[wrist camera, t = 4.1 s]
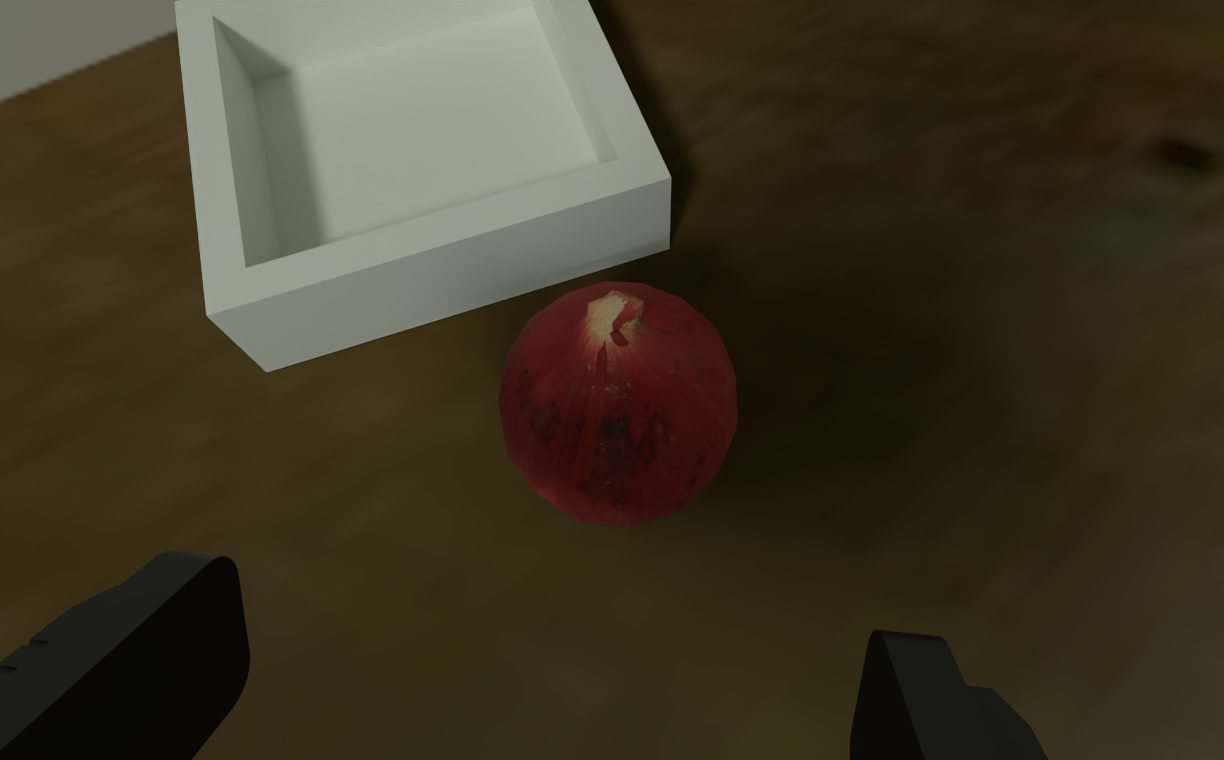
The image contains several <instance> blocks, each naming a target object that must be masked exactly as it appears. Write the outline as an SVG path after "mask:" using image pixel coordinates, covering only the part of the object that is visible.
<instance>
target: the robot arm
mask: <svg viewBox="0 0 1224 760" xmlns="http://www.w3.org/2000/svg"><path fill="white" fill-rule="evenodd" d="M249 666H250V650H249V644H248V637H247V630H246V623H245V616H244V609H243V603H242V596H241V589H240V582H239V575H238V570H237V567H236V565H235V563H234V562H233V560H231V559H230V558H229V557H226V556H218V555H208V554H199V553H190V552H181V551H171V550H170V551H165V552H163V553H161V554H159V555H158V556H156V557H155V558H154V559H152V560H151V561H150V562H149V563H147V564H146V565H145V566H144V567H142V568H141V569H140V570H139V571H137V572H136V573H135V574H134V575H132V576H131V577H130V578H129V579H127V580H126V581H125V582H124V583H123V584H121V585H120V586H115V587H113V588H111V589H109V590H107V591H105V592H103V593H101V594H99V595H97V596H95V597H93V598H91V599H89V600H86V601H84V602H82V603H80V604H78V605H76V606H74V607H72V608H70V609H68V610H67V611H66V612H65V613H63V614H62V615H61V616H59V617H58V618H57V619H56V620H54V621H53V622H52V623H50V624H49V625H48V626H47V627H45V628H44V629H43V630H41V631H40V632H39V633H38V634H36V635H35V636H34V637H32V638H31V639H30V643H29V645H28V646H21V647H19V648H18V649H17V650H16V651H14V652H13V653H12V654H10V655H9V656H8V657H7V658H5V659H4V660H3V661H1V662H0V760H192V758H193V757H194V756H195V755H196V753H197V752H198V751H199V750H200V748H201V747H202V746H203V745H204V743H205V742H206V741H207V740H208V738H209V737H210V736H211V735H212V733H213V732H214V731H215V730H216V728H217V727H218V726H219V725H220V723H221V722H222V721H223V720H224V718H225V717H226V716H227V715H228V713H229V712H230V711H231V710H232V708H233V707H234V705H235V704H236V703H237V701H238V699H239V697H240V695H241V693H242V691H243V689H244V686H245V683H246V680H247V677H248V672H249ZM850 760H1048V759H1047V757H1046V755H1045V753H1044V751H1043V749H1042V747H1041V746H1040V744H1039V742H1038V740H1037V738H1036V736H1035V734H1034V732H1033V731H1032V729H1031V727H1030V726H1029V725H1028V724H1027V723H1026V722H1025V721H1024V720H1023V719H1022V718H1021V717H1020V716H1019V715H1018V714H1017V713H1016V712H1015V711H1014V710H1013V709H1012V708H1011V707H1010V706H1009V705H1008V704H1007V703H1006V702H1005V701H1004V700H1003V699H1002V698H1001V697H1000V696H999V695H998V694H997V693H996V692H995V691H994V690H993V689H991V688H982V687H973V686H966V684H965V681H964V679H963V677H962V675H961V673H960V671H959V668H958V666H957V664H956V662H955V660H954V657H953V655H952V653H951V651H950V649H949V646H948V645H947V643H946V641H945V640H944V639H943V638H942V637H939V636H930V635H921V634H912V633H902V632H893V631H884V630H874V631H873V632H872V634H871V636H870V639H869V643H868V647H867V652H866V657H865V662H864V667H863V673H862V678H861V683H860V688H859V693H858V698H857V704H856V709H855V714H854V719H853V724H852V730H851V738H850Z"/></svg>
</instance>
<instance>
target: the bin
mask: <svg viewBox="0 0 1224 760" xmlns="http://www.w3.org/2000/svg"><path fill="white" fill-rule="evenodd" d="M175 11H176V21H177V31H178V41H179V51H180V60H181V70H182V80H183V90H184V100H185V110H186V119H187V129H188V139H189V149H190V159H191V169H192V178H193V188H194V198H195V208H196V218H197V228H198V237H199V247H200V257H201V267H202V277H203V287H204V296H205V306H206V316H207V317H208V318H209V319H210V320H212V321H213V322H214V323H215V324H216V325H217V326H218V327H219V328H220V329H221V330H222V331H223V332H224V333H225V334H226V335H228V336H229V337H230V338H231V339H232V340H233V341H234V342H235V343H236V344H237V345H238V346H239V347H240V348H241V349H242V350H243V351H245V352H246V353H247V354H248V355H249V356H250V357H251V358H252V359H253V360H254V361H255V362H256V363H257V364H258V365H259V366H261V367H262V368H263V369H264V370H265V371H266V372H270V371H273V370H277V369H280V368H283V367H286V366H290V365H293V364H296V363H299V362H303V361H306V360H309V359H312V358H316V357H319V356H322V355H325V354H329V353H332V352H335V351H339V350H342V349H345V348H348V347H352V346H355V345H358V344H361V343H365V342H368V341H371V340H374V339H378V338H381V337H384V336H387V335H391V334H394V333H397V332H400V331H404V330H407V329H410V328H414V327H417V326H420V325H423V324H427V323H430V322H433V321H436V320H440V319H443V318H446V317H449V316H453V315H456V314H459V313H462V312H466V311H469V310H472V309H476V308H479V307H482V306H485V305H489V304H492V303H495V302H498V301H502V300H505V299H508V298H511V297H515V296H518V295H521V294H524V293H528V292H531V291H534V290H538V289H541V288H544V287H547V286H551V285H554V284H557V283H560V282H564V281H567V280H570V279H573V278H577V277H580V276H583V275H586V274H590V273H593V272H596V271H599V270H603V269H606V268H609V267H613V266H616V265H619V264H622V263H626V262H629V261H632V260H635V259H639V258H642V257H645V256H648V255H652V254H655V253H658V252H661V251H665V250H668V249H669V247H670V210H671V176H670V173H669V171H668V169H667V167H666V165H665V163H664V161H663V159H662V156H661V154H660V152H659V150H658V148H657V146H656V144H655V142H654V139H653V137H652V135H651V133H650V131H649V129H648V127H647V125H646V122H645V120H644V118H643V116H642V114H641V112H640V110H639V108H638V105H637V103H636V101H635V99H634V97H633V95H632V93H631V91H630V89H629V86H628V84H627V82H626V80H625V78H624V76H623V74H622V72H621V69H620V67H619V65H618V63H617V61H616V59H615V57H614V55H613V52H612V50H611V48H610V46H609V44H608V42H607V40H606V38H605V35H604V33H603V31H602V29H601V27H600V25H599V23H598V21H597V18H596V16H595V14H594V12H593V10H592V8H591V6H590V4H589V2H588V0H180V1H176V2H175Z"/></svg>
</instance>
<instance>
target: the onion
mask: <svg viewBox="0 0 1224 760" xmlns="http://www.w3.org/2000/svg"><path fill="white" fill-rule="evenodd" d="M498 404H499V409H500V415H501V420H502V426H503V431H504V437H505V442H506V448H507V453H508V455H509V456H510V458H511V459H512V461H513V462H514V463H515V465H516V466H517V468H518V469H519V470H520V472H521V473H522V475H523V476H524V478H525V479H526V480H527V482H528V483H529V485H530V486H531V487H532V489H533V490H534V491H535V492H536V493H537V494H538V495H540V496H541V497H542V498H544V499H545V500H547V501H548V502H550V503H552V504H553V505H555V506H556V507H558V508H560V509H561V510H563V511H564V512H566V513H568V514H569V515H571V516H572V517H574V518H576V519H577V520H579V521H580V522H582V523H590V524H600V525H611V526H621V527H631V528H632V527H635V526H638V525H641V524H644V523H646V522H649V521H652V520H655V519H657V518H660V517H663V516H666V515H669V514H671V513H674V512H677V511H679V510H680V509H681V508H682V507H683V506H684V505H685V504H686V503H687V502H689V501H690V500H691V499H692V498H693V497H694V496H695V495H696V494H697V493H698V492H699V491H700V490H701V489H702V488H703V487H704V486H705V485H706V484H707V483H708V482H709V481H710V480H711V479H712V478H713V477H714V476H715V475H716V474H717V473H718V472H719V470H720V467H721V465H722V462H723V460H724V458H725V455H726V453H727V451H728V448H729V446H730V444H731V441H732V439H733V437H734V434H735V432H736V426H737V419H738V417H737V390H736V374H735V372H734V369H733V366H732V364H731V361H730V358H729V356H728V353H727V351H726V348H725V345H724V343H723V340H722V338H721V335H720V333H719V332H718V330H717V329H716V327H715V326H714V325H713V324H712V323H711V322H710V321H709V320H707V319H706V318H705V317H704V316H703V315H701V314H700V313H699V312H698V311H697V310H696V309H694V308H693V307H692V306H691V305H690V304H688V303H687V302H686V301H685V300H684V299H682V298H680V297H678V296H675V295H673V294H670V293H667V292H665V291H662V290H659V289H657V288H654V287H651V286H648V285H646V284H643V283H631V282H613V281H604V282H601V283H598V284H594V285H591V286H588V287H585V288H581V289H578V290H575V291H572V292H568V293H567V294H565V295H564V296H562V297H560V298H559V299H557V300H556V301H554V302H553V303H551V304H550V305H548V306H547V307H545V308H544V309H542V310H541V311H539V312H538V313H536V314H535V315H534V316H533V317H532V318H531V319H530V320H529V321H528V323H527V324H526V326H525V327H524V329H523V330H522V332H521V333H520V335H519V336H518V338H517V339H516V341H515V342H514V344H513V345H512V347H511V348H510V350H509V351H508V354H507V358H506V363H505V368H504V373H503V378H502V383H501V389H500V394H499V399H498Z"/></svg>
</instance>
